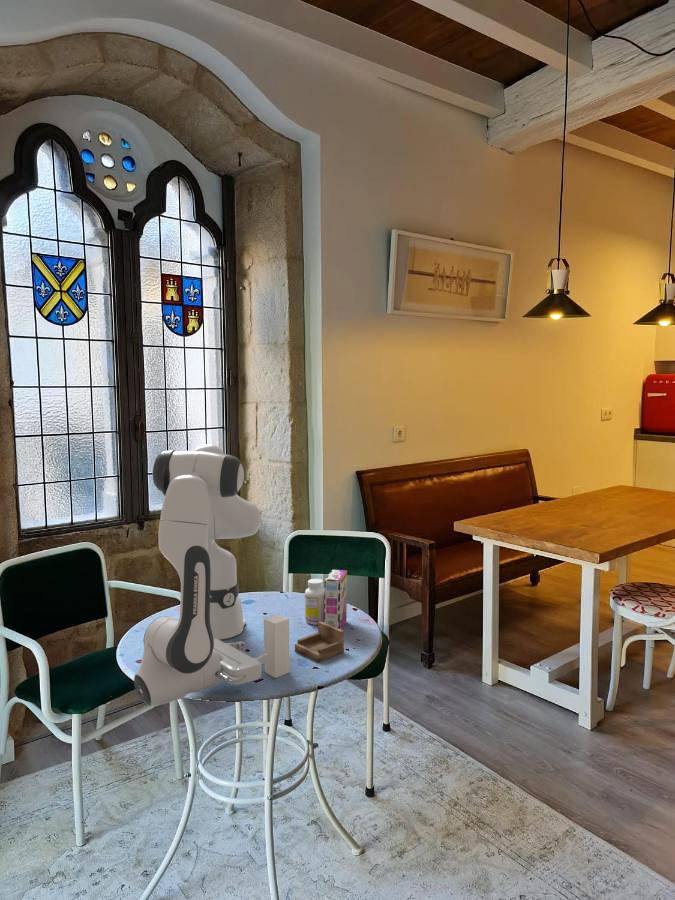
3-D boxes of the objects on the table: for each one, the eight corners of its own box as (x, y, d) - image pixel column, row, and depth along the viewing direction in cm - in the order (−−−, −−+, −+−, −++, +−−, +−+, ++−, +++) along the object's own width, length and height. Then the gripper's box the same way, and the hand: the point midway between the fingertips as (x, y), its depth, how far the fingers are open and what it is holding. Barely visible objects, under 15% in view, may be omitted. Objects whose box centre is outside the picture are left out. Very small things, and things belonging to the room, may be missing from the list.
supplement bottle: (321, 616, 200) (320, 576, 199) (330, 623, 194) (330, 582, 193) (301, 619, 197) (301, 579, 196) (310, 626, 191) (310, 585, 190)
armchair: (294, 651, 173) (294, 630, 173) (320, 641, 180) (320, 621, 179) (317, 662, 167) (317, 640, 166) (343, 651, 173) (343, 630, 172)
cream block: (264, 672, 161) (263, 618, 160) (280, 666, 164) (279, 613, 163) (275, 678, 158) (274, 623, 156) (291, 671, 161) (290, 618, 160)
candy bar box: (340, 635, 184) (340, 580, 183) (323, 634, 185) (323, 579, 184) (347, 621, 195) (347, 569, 194) (331, 620, 196) (331, 568, 195)
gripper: (230, 669, 139) (280, 651, 148) (183, 642, 153) (231, 626, 163) (230, 697, 139) (280, 677, 149) (183, 666, 154) (232, 650, 163)
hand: (254, 650), depth 156 cm, fingers open, 8 cm apart
